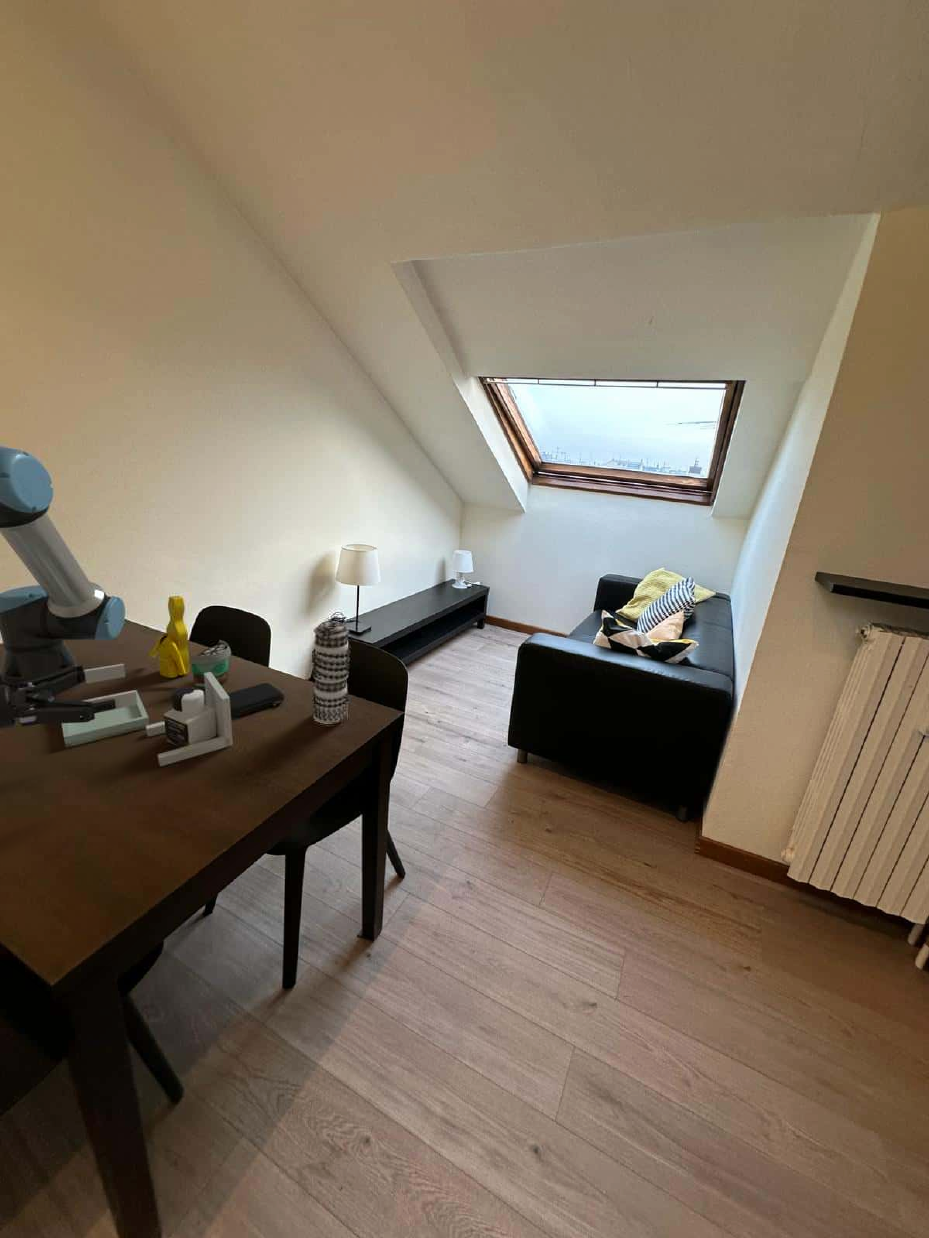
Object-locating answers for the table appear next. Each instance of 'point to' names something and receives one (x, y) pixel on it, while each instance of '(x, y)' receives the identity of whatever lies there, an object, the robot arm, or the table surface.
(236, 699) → the carrying case or bag
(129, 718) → the tray
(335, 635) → the decorative candle
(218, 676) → the food container
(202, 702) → the medicine bottle
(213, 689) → the bay
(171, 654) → the figure statuette
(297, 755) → the table surface
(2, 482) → the robot arm
